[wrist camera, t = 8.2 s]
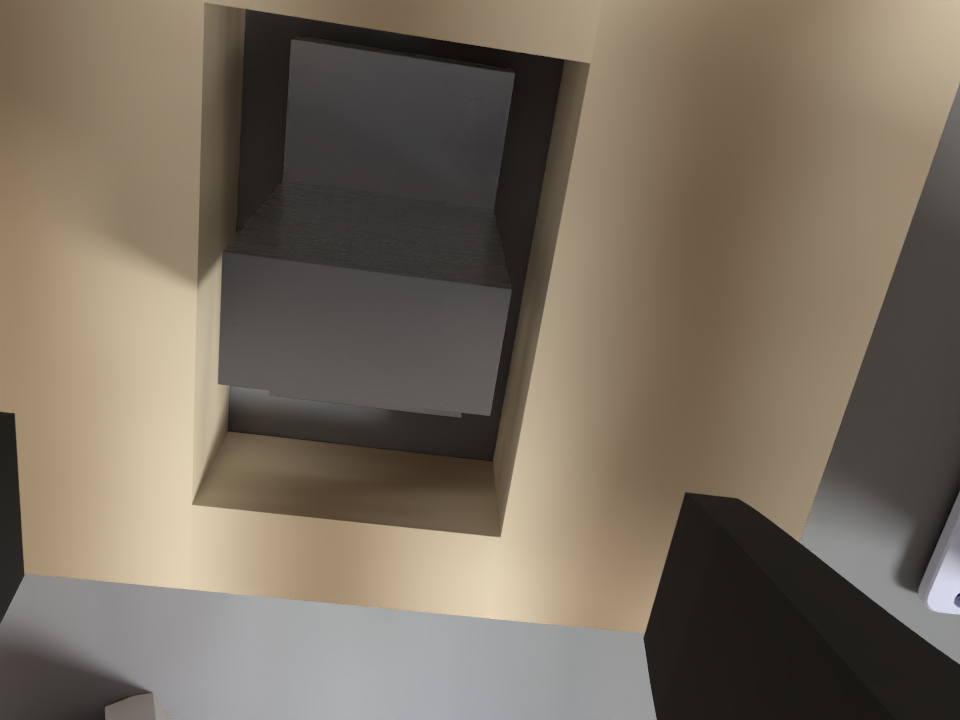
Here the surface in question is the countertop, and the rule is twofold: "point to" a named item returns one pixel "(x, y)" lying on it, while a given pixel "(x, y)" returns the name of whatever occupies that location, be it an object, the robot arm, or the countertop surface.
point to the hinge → (137, 709)
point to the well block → (543, 313)
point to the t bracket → (376, 238)
